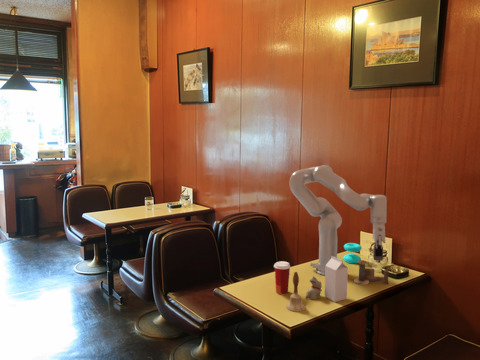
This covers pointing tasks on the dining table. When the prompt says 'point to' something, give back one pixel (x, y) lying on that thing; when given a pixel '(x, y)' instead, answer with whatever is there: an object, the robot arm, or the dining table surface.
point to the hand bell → (295, 297)
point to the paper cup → (282, 277)
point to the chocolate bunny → (314, 289)
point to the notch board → (372, 279)
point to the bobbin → (361, 274)
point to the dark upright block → (378, 256)
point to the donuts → (352, 248)
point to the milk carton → (336, 280)
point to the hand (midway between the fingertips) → (378, 254)
